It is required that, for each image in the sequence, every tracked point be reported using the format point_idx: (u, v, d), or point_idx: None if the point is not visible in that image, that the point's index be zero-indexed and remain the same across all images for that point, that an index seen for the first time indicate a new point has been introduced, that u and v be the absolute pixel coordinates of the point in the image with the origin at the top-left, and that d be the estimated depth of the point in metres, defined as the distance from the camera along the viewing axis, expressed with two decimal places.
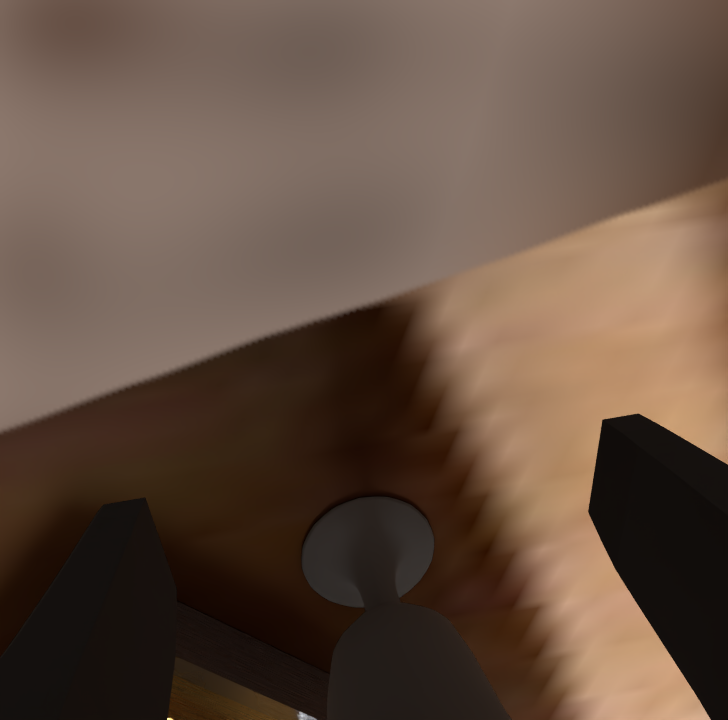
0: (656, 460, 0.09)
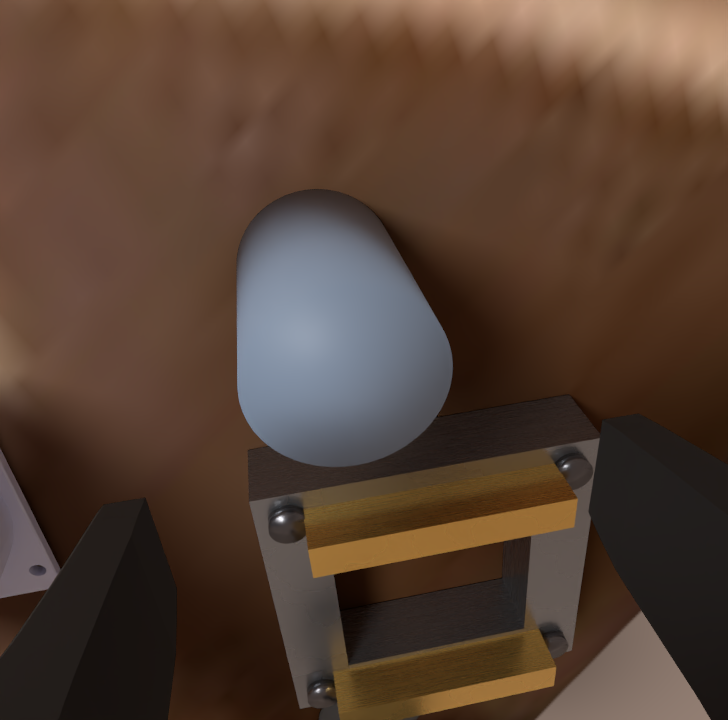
0: (656, 460, 0.09)
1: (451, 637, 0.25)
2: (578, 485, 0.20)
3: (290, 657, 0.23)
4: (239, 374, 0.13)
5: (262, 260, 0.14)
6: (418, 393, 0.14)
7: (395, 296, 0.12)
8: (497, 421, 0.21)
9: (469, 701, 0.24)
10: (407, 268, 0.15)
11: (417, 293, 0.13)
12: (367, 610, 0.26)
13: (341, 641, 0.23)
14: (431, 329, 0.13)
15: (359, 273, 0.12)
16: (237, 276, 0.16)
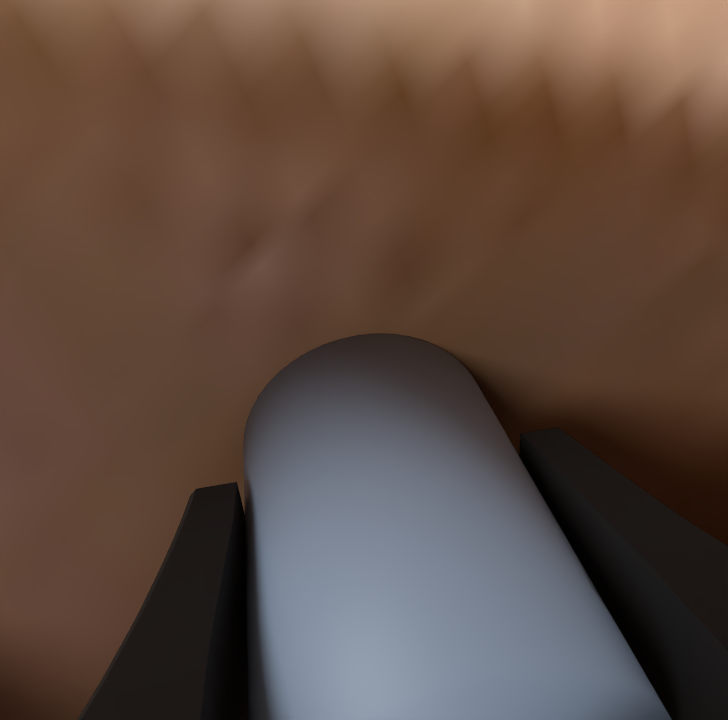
0: (563, 477, 0.09)
1: None
2: None
3: None
4: None
5: (295, 512, 0.08)
6: None
7: (591, 684, 0.06)
8: None
9: None
10: (552, 514, 0.08)
11: (609, 627, 0.07)
12: None
13: None
14: (648, 719, 0.06)
15: (511, 623, 0.06)
16: (246, 486, 0.10)
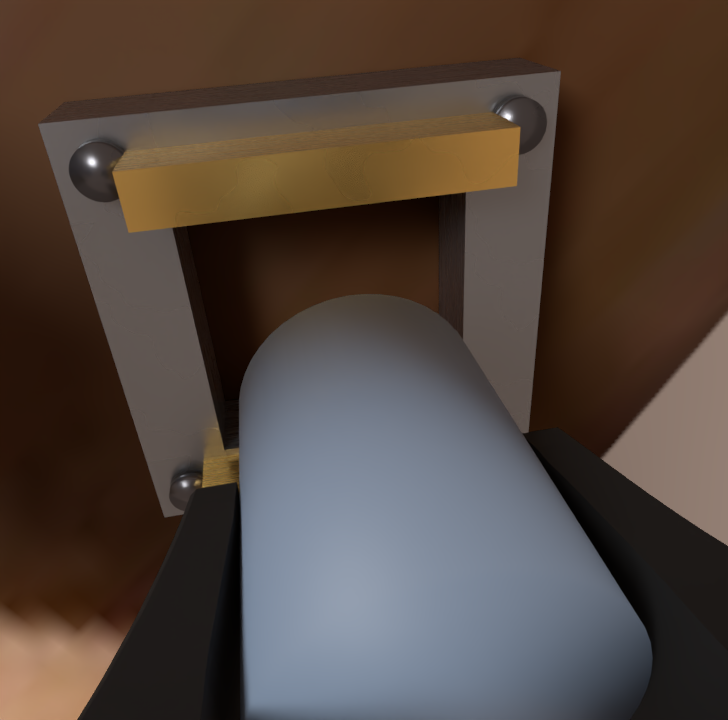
0: (563, 476, 0.09)
1: None
2: (526, 146, 0.14)
3: (139, 427, 0.17)
4: None
5: (281, 453, 0.08)
6: (582, 718, 0.07)
7: (557, 586, 0.06)
8: (417, 73, 0.15)
9: None
10: (532, 451, 0.09)
11: (582, 543, 0.07)
12: None
13: (209, 407, 0.17)
14: (621, 626, 0.06)
15: (481, 531, 0.06)
16: (239, 443, 0.10)
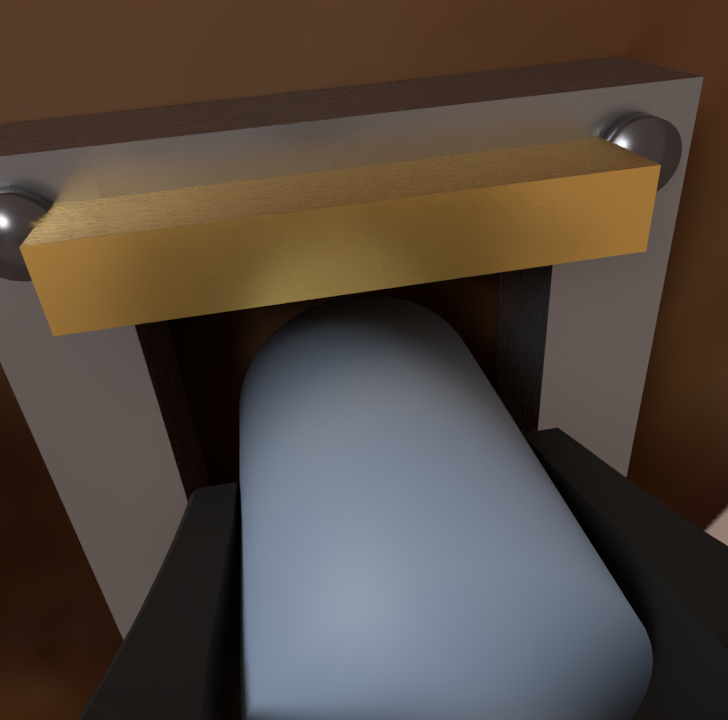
0: (562, 477, 0.09)
1: None
2: None
3: (97, 567, 0.12)
4: None
5: (282, 455, 0.08)
6: (582, 719, 0.07)
7: (558, 587, 0.06)
8: (482, 80, 0.11)
9: None
10: (533, 452, 0.09)
11: (583, 544, 0.07)
12: None
13: None
14: (621, 628, 0.06)
15: (481, 533, 0.06)
16: (240, 444, 0.10)
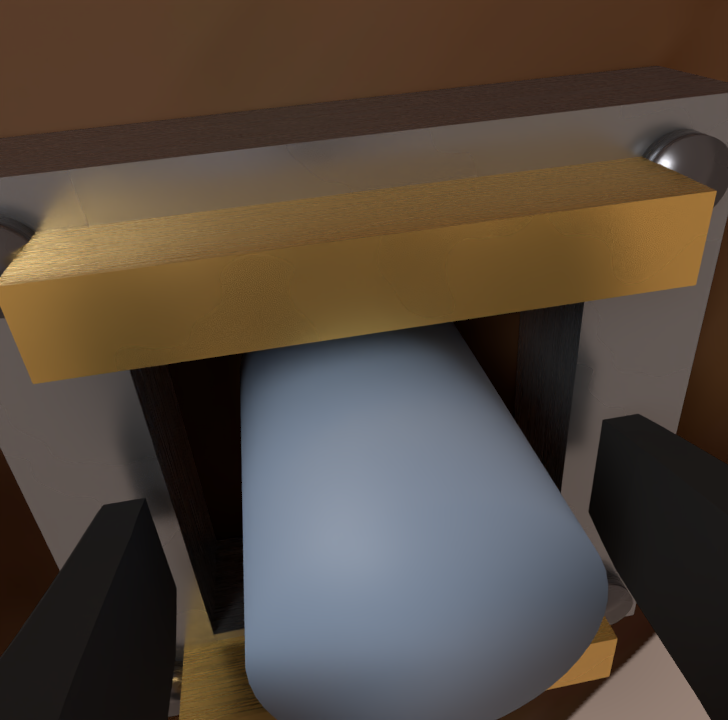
0: (656, 460, 0.09)
1: None
2: None
3: None
4: (248, 649, 0.07)
5: (280, 411, 0.09)
6: (547, 641, 0.08)
7: (521, 515, 0.07)
8: (509, 92, 0.10)
9: None
10: (507, 410, 0.09)
11: (547, 484, 0.08)
12: None
13: (191, 584, 0.12)
14: (579, 555, 0.07)
15: (455, 469, 0.07)
16: (241, 408, 0.11)
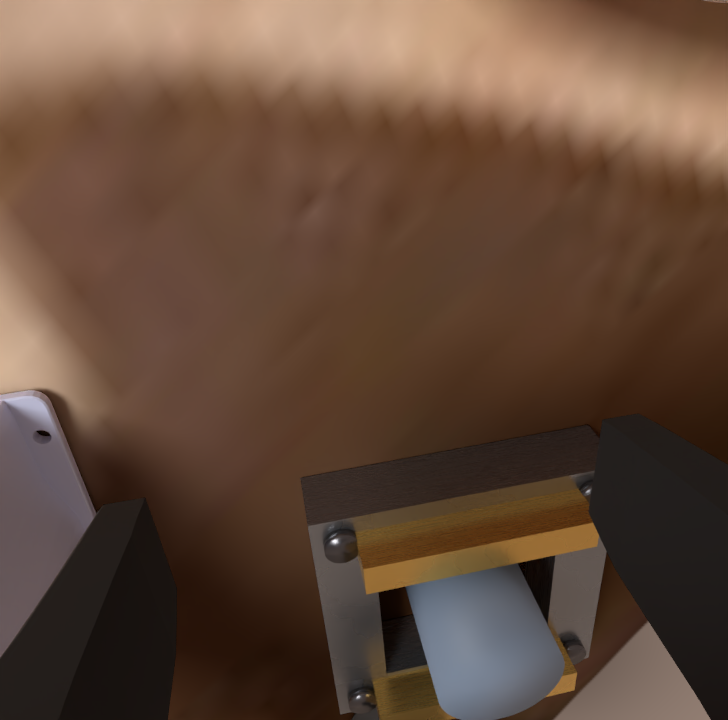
0: (656, 460, 0.09)
1: None
2: None
3: (334, 666, 0.25)
4: (440, 686, 0.21)
5: (437, 588, 0.23)
6: (542, 681, 0.22)
7: (534, 641, 0.21)
8: (525, 450, 0.23)
9: None
10: (526, 585, 0.23)
11: (542, 625, 0.21)
12: (400, 622, 0.28)
13: (381, 651, 0.25)
14: (553, 652, 0.21)
15: (511, 625, 0.21)
16: None
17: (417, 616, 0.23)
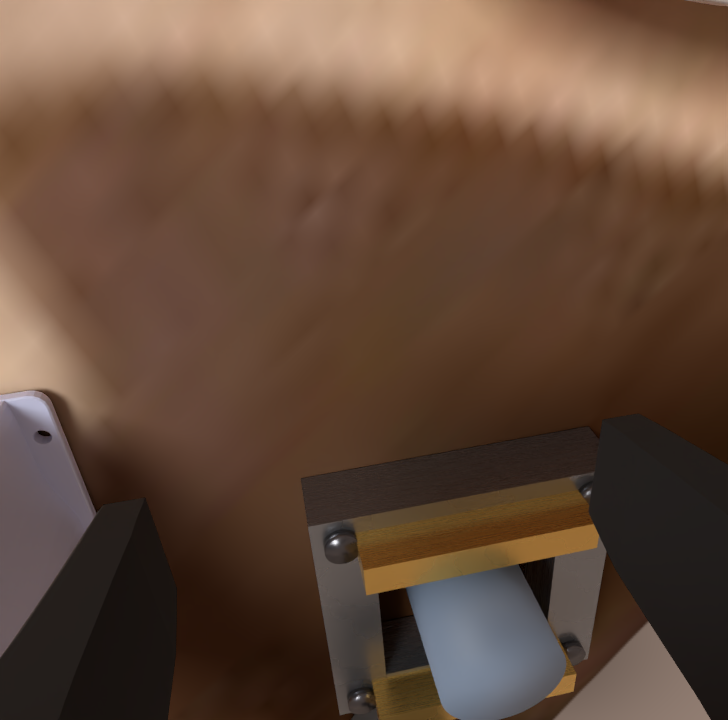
0: (656, 460, 0.09)
1: None
2: None
3: (334, 667, 0.25)
4: (442, 686, 0.21)
5: (438, 589, 0.23)
6: (544, 680, 0.22)
7: (536, 641, 0.21)
8: (525, 451, 0.23)
9: None
10: (527, 585, 0.23)
11: (544, 625, 0.21)
12: (400, 623, 0.28)
13: (381, 652, 0.25)
14: (555, 651, 0.21)
15: (514, 624, 0.21)
16: None
17: (418, 617, 0.23)
